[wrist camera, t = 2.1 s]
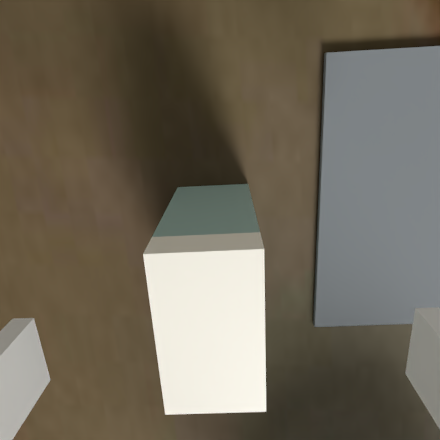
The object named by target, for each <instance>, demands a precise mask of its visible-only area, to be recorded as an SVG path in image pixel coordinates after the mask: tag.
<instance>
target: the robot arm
mask: <svg viewBox="0 0 440 440" xmlns="http://www.w3.org/2000/svg"><path fill="white" fill-rule="evenodd" d="M405 374H406V376H407V377H408V379H409V381H410V382H411V384H412V385H413V387H414V389H415V390H416V392H417V394H418V395H419V397H420V398H421V400H422V402H423V403H424V405H425V407H426V408H427V410H428V411H429V413H430V415H431V416H432V418H433V420H434V421H435V423H436V424H437V426H438V428H439V429H440V308H439V307H438V308H415V314H414V320H413V327H412V333H411V340H410V346H409V353H408V359H407V366H406V372H405ZM49 381H50V376H49V372H48V369H47V365H46V361H45V358H44V354H43V350H42V347H41V343H40V339H39V336H38V332H37V328H36V325H35V321H34V318H19V319H12V320H11V321H10V322H9V323H8V324H7V325H6V326H5V327H4V328H3V329H2V330H1V331H0V440H13V438H14V436H15V435H16V433H17V432H18V430H19V429H20V427H21V425H22V424H23V422H24V421H25V419H26V418H27V416H28V414H29V413H30V411H31V410H32V408H33V407H34V405H35V403H36V402H37V400H38V399H39V397H40V395H41V394H42V392H43V391H44V389H45V388H46V386H47V384H48V383H49Z"/></svg>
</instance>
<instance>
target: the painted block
mask: <svg viewBox="0 0 440 440" xmlns="http://www.w3.org/2000/svg"><path fill="white" fill-rule="evenodd" d="M143 257H144V264H145V272H146V279H147V286H148V293H149V301H150V308H151V315H152V322H153V330H154V337H155V344H156V351H157V358H158V366H159V373H160V380H161V387H162V395H163V402H164V409H165V415H168V414H204V413H239V412H266V349H265V272H264V246H263V242H262V238H261V234H260V230H259V226H258V222H257V218H256V214H255V210H254V206H253V202H252V198H251V194H250V190H249V186H248V184H234V185H213V186H193V187H178V188H177V190H176V191H175V193H174V195H173V197H172V199H171V201H170V203H169V205H168V207H167V209H166V211H165V213H164V215H163V217H162V219H161V220H160V222H159V224H158V226H157V228H156V230H155V232H154V234H153V236H152V238H151V240H150V242H149V244H148V246H147V248H146V249H145V251H144V253H143Z"/></svg>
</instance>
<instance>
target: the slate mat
mask: <svg viewBox="0 0 440 440" xmlns="http://www.w3.org/2000/svg"><path fill="white" fill-rule="evenodd" d="M438 307H439V308H440V46H429V47H412V48H395V49H379V50H362V51H345V52H329V53H324V76H323V100H322V125H321V149H320V174H319V198H318V222H317V247H316V271H315V296H314V320H313V324H314V326H315V327H332V326H360V325H389V324H413V320H414V314H415V308H438Z"/></svg>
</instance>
